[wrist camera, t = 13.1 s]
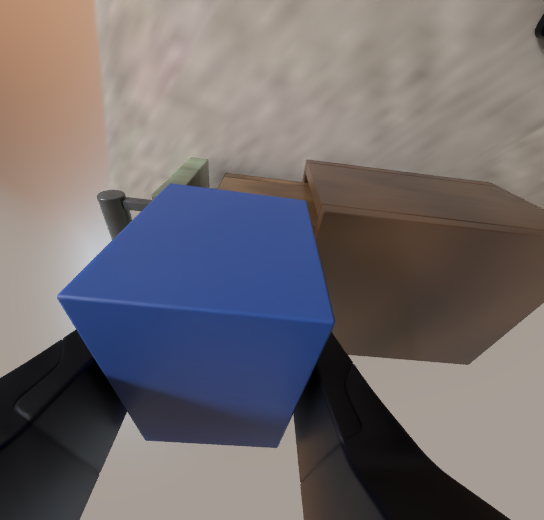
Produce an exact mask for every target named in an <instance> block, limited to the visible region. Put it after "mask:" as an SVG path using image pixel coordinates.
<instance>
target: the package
mask: <svg viewBox="0 0 544 520" xmlns="http://www.w3.org/2000/svg"><path fill="white" fill-rule="evenodd" d="M57 299H58V300H59V302H60V303H61V305H62V307H63V309H64V310H65V311H66V313H67V315H68V316H69V318H70V320H71V321H72V323H73V325H74V326H75V328H76V329H77V331H78V333H79V334H80V336H81V338H82V339H83V341H84V342H85V344H86V346H87V347H88V349H89V350H90V352H91V354H92V355H93V357H94V358H95V360H96V362H97V363H98V365H99V367H100V368H101V370H102V371H103V373H104V375H105V376H106V378H107V379H108V381H109V383H110V384H111V386H112V387H113V389H114V391H115V392H116V394H117V396H118V397H119V399H120V400H121V402H122V404H123V405H124V407H125V408H126V410H127V412H128V413H129V415H130V416H131V418H132V420H133V421H134V423H135V424H136V426H137V428H138V429H139V431H140V433H141V434H142V436H143V437H144V439H145V440H147V441H165V442H182V443H200V444H217V445H235V446H252V447H271V448H277V447H278V445H279V443H280V441H281V439H282V437H283V435H284V432H285V430H286V428H287V426H288V424H289V422H290V419H291V417H292V415H293V413H294V411H295V409H296V407H297V404H298V402H299V400H300V398H301V396H302V394H303V392H304V389H305V387H306V385H307V383H308V381H309V379H310V377H311V374H312V372H313V370H314V368H315V366H316V364H317V361H318V359H319V357H320V355H321V353H322V351H323V349H324V346H325V344H326V342H327V340H328V338H329V336H330V334H331V331H332V329H333V327H334V325H335V318H334V314H333V310H332V306H331V302H330V297H329V293H328V289H327V285H326V281H325V277H324V273H323V268H322V264H321V260H320V256H319V252H318V248H317V244H316V239H315V235H314V231H313V227H312V223H311V219H310V215H309V210H308V206H307V202H306V201H305V200H298V199H290V198H282V197H274V196H266V195H258V194H251V193H243V192H235V191H227V190H219V189H211V188H204V187H196V186H188V185H180V184H172V183H170V184H168V185H167V186H166V187H165V188H164V189H163V190H162V191H161V192H160V193H159V194H158V195H157V196H156V197H155V198H154V199H153V200H152V201H151V202H150V203H149V204H148V205H147V206H146V207H145V208H144V209H143V210H142V211H141V212H140V213H139V214H138V215H137V216H136V217H135V218H134V219H133V220H132V221H131V222H130V223H129V224H128V225H127V226H126V227H125V228H124V229H123V230H122V231H121V232H120V233H119V234H118V235H117V236H116V237H115V238H114V239H113V240H112V241H111V242H110V243H109V244H108V245H107V246H106V247H105V248H104V249H103V250H102V251H101V252H100V253H99V254H98V255H97V256H96V257H95V258H94V259H93V260H92V261H91V262H90V263H89V264H88V265H87V266H86V267H85V268H84V269H83V270H82V271H81V272H80V273H79V274H78V275H77V276H76V277H75V278H74V279H73V280H72V281H71V282H70V283H69V284H68V285H67V286H66V287H65V288H64V289H63V290H62V291H61V292H60V293H59V294H58V296H57Z"/></svg>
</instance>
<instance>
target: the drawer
mask: <svg viewBox="0 0 544 520" xmlns="http://www.w3.org/2000/svg"><path fill="white" fill-rule="evenodd" d="M170 183H172V184H180V185H188V186H196V187H204V188H209V169H208V160H207V159H200V158H190V159H189V160H188V161H187V162H186V163H185V164H184V165H183V166H182V167H181V168H180V169H179V170H178V171H177V172H176V173H175V174H173V175H172V176H171V177H170V178H169V179H168V180H167V181H166V182H165V183H164V184H163V185H162V186H161V187H160V188H159V189H157V190H156V191H155V192H154V193H153V194H152V200H153V199H154V198H155V197H156V196H157V195H158V194H159V193H160V192H161V191H162V190H163V189H164V188H165V187H166V186H167V185H168V184H170ZM218 189H219V190H227V191H235V192H243V193H251V194H258V195H266V196H274V197H282V198H290V199H298V200H305V201H306V202H307V206H308V210H309V215H310V219H311V223H312V227H313V231H314V233H315V229H316V225H317V221H318V215H317V212H316V208H315V205H314V201H313V198H312V194H311V190H310V187H309V183H304V182H295V181H287V180H279V179H271V178H262V177H254V176H246V175H238V174H230V173H226V174H225V176H224V178H223V180H222V182H221V183H220V185H219V187H218ZM97 199H98V201H99V204H100V207H101V210H102V213H103V216H104V218H105V221H106V224H107V226H108V230H109V232H110V235H111V238H112V240H113V239H114V238H115V237H116V236H117V235H118V234H119V233H120V232H121V231H122V230H123V229H124V228H125V227H126V226H127V225H128V224H129V223H130V222H131V221H132V218H131V214H130V210H135V211H142V210H143V209H144V208H145V207H146V206H147V205H148V204H149V203H150V202H151V201H152V200H146V199H138V198H129V197H127V198H126V196H125V193H124V192H122V191H119V190H108V191H103V192H101V193H99V194H98V195H97Z"/></svg>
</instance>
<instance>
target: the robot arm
mask: <svg viewBox="0 0 544 520" xmlns="http://www.w3.org/2000/svg"><path fill="white" fill-rule="evenodd" d="M535 35H536V37H537V38H540V39H544V14H543V16H542V18H541V19H540V21H539V23H538V24H537V27H536V29H535ZM126 413H127V410H126V408H125V407H124V405H123V404H122V402H121V400H120V399H119V397H118V396H117V394H116V392H115V391H114V389H113V387H112V386H111V384H110V383H109V381H108V379H107V378H106V376H105V375H104V373H103V371H102V370H101V368H100V367H99V365H98V363H97V362H96V360H95V358H94V357H93V355H92V354H91V352H90V350H89V349H88V347H87V346H86V344H85V342H84V341H83V339H82V338H81V336H80V334H79V333H78V331H77V329H76V330H75V331H73V332H72V333H70V334H69V335H67V336H66V337H64V338H63V340H60V341H58V342H57V343H55V344H54V345H52V346H51V347H49V348H48V349H46V350H45V351H43V352H42V353H40V354H38V355H37V356H35V357H34V358H32V359H31V360H29V361H28V362H26V363H24V364H23V365H21V366H20V367H18V368H16V369H15V370H13V371H11V372H10V373H8V374H6V375H5V376H3V377H1V378H0V520H80V517H81V515H82V513H83V511H84V508H85V506H86V504H87V502H88V499H89V497H90V495H91V493H92V490H93V488H94V486H95V483H96V481H97V479H98V477H99V473H100V472H101V470H102V467H103V465H104V463H105V460H106V458H107V456H108V454H109V451H110V449H111V447H112V445H113V442H114V440H115V438H116V436H117V433H118V431H119V429H120V426H121V424H122V422H123V420H124V417H125V415H126ZM294 423H295V433H296V444H297V453H298V464H299V473H300V482H301V495H302V505H303V515H304V520H510V519H509V518H507V517H506V516H505V515H503V514H502V513H501V512H499V511H498V510H496V509H495V508H494V507H492V506H491V505H489V504H488V503H487V502H485V501H484V500H482V499H481V498H480V497H478V496H477V495H475V494H474V493H473V492H471V491H469V490H468V489H467V488H465V487H464V486H463V485H461V484H460V483H458V482H457V481H456V480H454V479H453V478H451V477H450V476H449V475H447V474H446V473H445V472H443V471H442V470H441V469H440V468H439V467H438V466H436V464H435V463H433V462H432V461H431V460H430V459H429V458H428V457H427V456H426V454H424V452H423V451H422V450H421V449H420V448H419V447H418V445H417V444H416V443H415V442H414V441H413V439H412V438H411V437H410V436H409V434H407V432H406V431H405V430H404V428H403V427H402V426H401V425H400V424H399V423H398V421H397V420H396V419H395V418H394V416H393V415H392V414H391V413H390V411H389V410H388V409H387V408H386V407H385V405H384V404H383V403H382V402H381V400H380V399H379V398H378V396H377V395H376V394H375V393H374V392H373V390H372V389H371V387H370V386H369V385H368V383H367V382H366V381H365V379H364V378H363V377H362V375H361V374H360V372H359V371H358V369H357V368H356V366H355V365H354V364H353V362H352V361H351V359H350V358H349V356H348V355H347V353H346V352H345V350H344V349H343V347H342V346H341V345H340V343H339V342H338V340H337V339H336V337H335V336H334V334H333V333H332V331H331V334H330V336H329V338H328V340H327V342H326V344H325V346H324V349H323V351H322V353H321V355H320V357H319V359H318V361H317V364H316V366H315V368H314V370H313V372H312V374H311V377H310V379H309V381H308V383H307V385H306V387H305V389H304V392H303V394H302V396H301V398H300V400H299V402H298V404H297V407H296V409H295V411H294Z"/></svg>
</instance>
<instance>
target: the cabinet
mask: <svg viewBox="0 0 544 520" xmlns="http://www.w3.org/2000/svg"><path fill="white" fill-rule="evenodd" d="M302 182H304V183H309V187H310V190H311V194H312V198H313V201H314V205H315V208H316V212H317V215H318V221H317V225H316V229H315V233H314V235H315V239H316V244H317V248H318V252H319V256H320V260H321V264H322V268H323V273H324V277H325V281H326V285H327V289H328V293H329V297H330V302H331V306H332V310H333V314H334V318H335V325H334V327H333V329H332V333H333V334H334V336H335V337H336V339H337V340H338V342H339V343H340V345H341V346H342V347H343V349H344V350H345V352H346V353H347V355H358V356H370V357H382V358H393V359H407V360H418V361H430V362H442V363H453V364H465V365H468V364H470V363H471V362H472V361H473V360H475V359H476V358H477V357H478V356H479V355H481V354H482V353H483V352H484V351H485V350H487V349H488V348H489V347H490V346H492V345H493V344H494V343H495V342H496V341H498V340H499V339H500V338H501V337H503V336H504V335H505V334H506V333H507V332H509V331H510V330H511V329H512V328H513V327H515V326H516V325H517V324H518V323H519V322H521V321H522V320H523V319H524V318H526V317H527V316H528V315H529V314H530V313H532V312H533V311H534V310H535V309H536V308H538V307H539V306H540V305H541V304H543V303H544V210H543V209H541V208H539V207H537V206H535V205H533V204H531V203H529V202H528V201H526V200H524V199H522V198H520V197H518V196H516V195H514V194H512V193H510V192H508V191H506V190H504V189H502V188H500V187H498V186H496V185H494V184H492V183H487V182H479V181H471V180H463V179H455V178H448V177H440V176H432V175H424V174H416V173H408V172H400V171H392V170H384V169H377V168H369V167H361V166H353V165H345V164H337V163H329V162H321V161H314V160H306V165H305V171H304V176H303V181H302Z"/></svg>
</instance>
